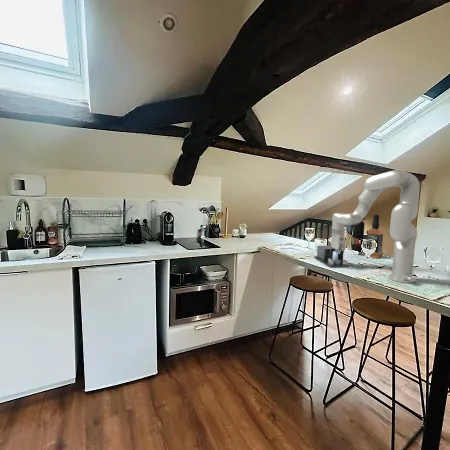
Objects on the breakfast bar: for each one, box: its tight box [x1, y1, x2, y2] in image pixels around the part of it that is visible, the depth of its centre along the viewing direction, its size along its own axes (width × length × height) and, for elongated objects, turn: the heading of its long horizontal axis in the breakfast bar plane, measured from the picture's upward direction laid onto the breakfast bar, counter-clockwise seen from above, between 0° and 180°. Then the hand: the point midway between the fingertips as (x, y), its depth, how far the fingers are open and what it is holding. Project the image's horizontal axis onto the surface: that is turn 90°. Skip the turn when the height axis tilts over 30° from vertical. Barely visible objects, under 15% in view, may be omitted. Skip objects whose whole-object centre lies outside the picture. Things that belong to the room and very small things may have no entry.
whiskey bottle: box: [366, 214, 385, 260], centre depth 207 cm, size 10×10×32 cm
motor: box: [314, 245, 349, 269], centre depth 191 cm, size 29×12×10 cm, turn 4°
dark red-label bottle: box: [350, 216, 366, 254], centre depth 216 cm, size 14×9×30 cm
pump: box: [332, 250, 341, 265], centre depth 181 cm, size 5×5×9 cm
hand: (336, 257), depth 180 cm, fingers open, 9 cm apart
